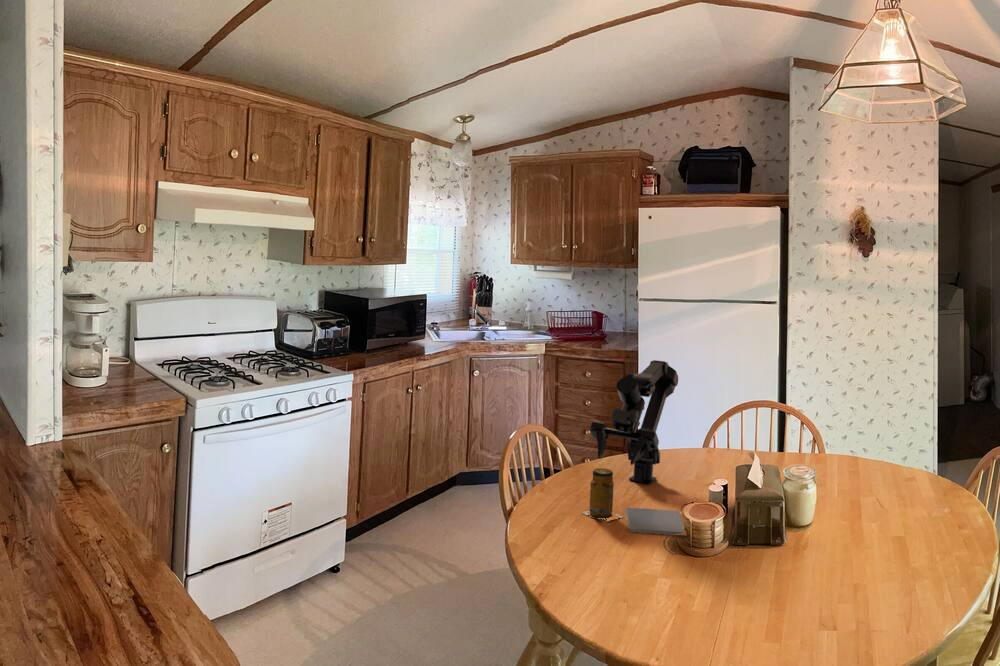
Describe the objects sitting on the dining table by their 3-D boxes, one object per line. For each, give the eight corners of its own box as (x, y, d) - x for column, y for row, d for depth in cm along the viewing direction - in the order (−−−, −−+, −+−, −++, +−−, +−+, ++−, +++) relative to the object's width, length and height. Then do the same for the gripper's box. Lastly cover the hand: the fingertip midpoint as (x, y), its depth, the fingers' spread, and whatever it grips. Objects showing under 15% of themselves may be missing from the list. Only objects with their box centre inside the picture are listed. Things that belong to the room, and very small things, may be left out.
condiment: (600, 507, 186) (602, 465, 184) (624, 517, 179) (626, 473, 178) (581, 513, 181) (583, 470, 179) (605, 524, 174) (607, 479, 173)
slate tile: (625, 510, 183) (625, 507, 183) (678, 514, 182) (678, 510, 182) (629, 532, 170) (630, 528, 170) (687, 536, 168) (687, 532, 168)
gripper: (593, 393, 192) (575, 439, 183) (658, 402, 182) (642, 452, 174) (602, 414, 199) (585, 460, 191) (665, 424, 190) (650, 473, 182)
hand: (614, 461), depth 184 cm, fingers open, 9 cm apart
